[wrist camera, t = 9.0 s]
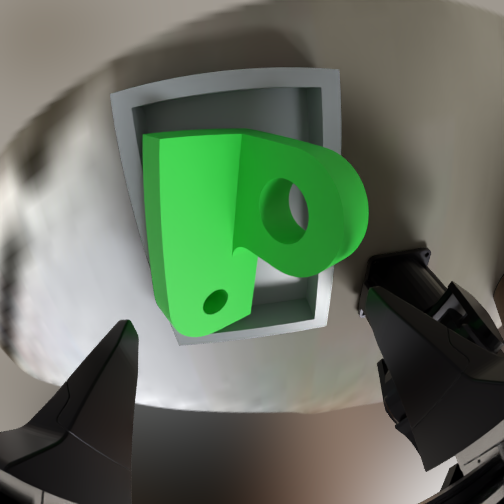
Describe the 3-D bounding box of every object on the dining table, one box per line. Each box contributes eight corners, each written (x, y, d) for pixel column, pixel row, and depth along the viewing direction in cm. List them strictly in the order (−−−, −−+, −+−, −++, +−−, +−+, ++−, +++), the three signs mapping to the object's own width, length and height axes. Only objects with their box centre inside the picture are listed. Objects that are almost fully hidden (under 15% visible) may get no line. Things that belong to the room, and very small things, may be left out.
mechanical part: (142, 134, 11) (271, 177, 6) (247, 128, 14) (383, 167, 9) (160, 330, 17) (237, 424, 12) (233, 298, 20) (314, 367, 15)
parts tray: (318, 72, 13) (339, 69, 11) (315, 299, 22) (326, 325, 20) (128, 93, 13) (110, 94, 10) (181, 317, 22) (179, 345, 19)
